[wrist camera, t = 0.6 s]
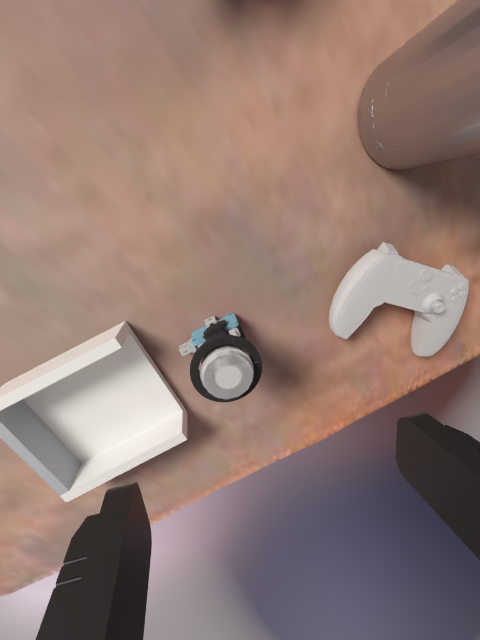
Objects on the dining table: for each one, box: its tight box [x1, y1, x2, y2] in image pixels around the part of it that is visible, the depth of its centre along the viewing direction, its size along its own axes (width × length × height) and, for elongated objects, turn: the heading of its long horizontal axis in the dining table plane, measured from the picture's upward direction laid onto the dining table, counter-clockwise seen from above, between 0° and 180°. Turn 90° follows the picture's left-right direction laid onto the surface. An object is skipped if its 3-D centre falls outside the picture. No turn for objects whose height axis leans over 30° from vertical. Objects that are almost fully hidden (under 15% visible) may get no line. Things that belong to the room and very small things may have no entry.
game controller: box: [329, 242, 469, 356], centre depth 31 cm, size 14×4×10 cm
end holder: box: [0, 321, 187, 502], centre depth 29 cm, size 13×12×4 cm
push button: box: [179, 313, 262, 402], centre depth 26 cm, size 7×5×10 cm
